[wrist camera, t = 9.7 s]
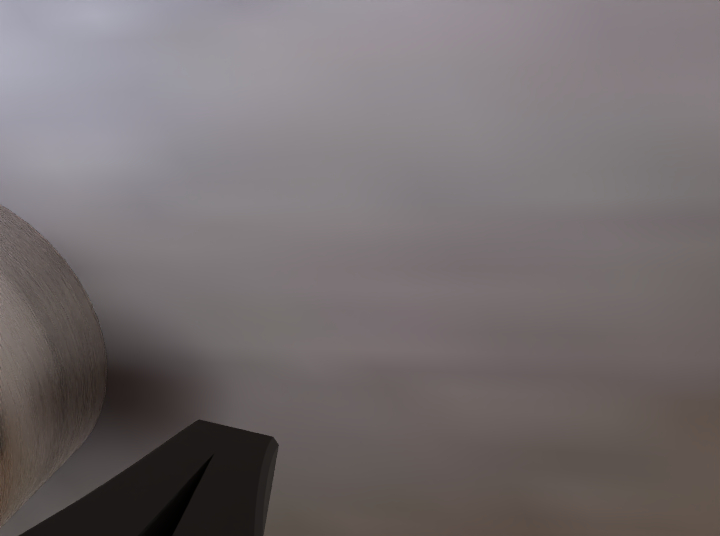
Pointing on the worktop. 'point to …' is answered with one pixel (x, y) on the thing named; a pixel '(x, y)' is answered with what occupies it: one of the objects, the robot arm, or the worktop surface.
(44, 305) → the tin
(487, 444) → the worktop surface
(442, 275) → the worktop surface
